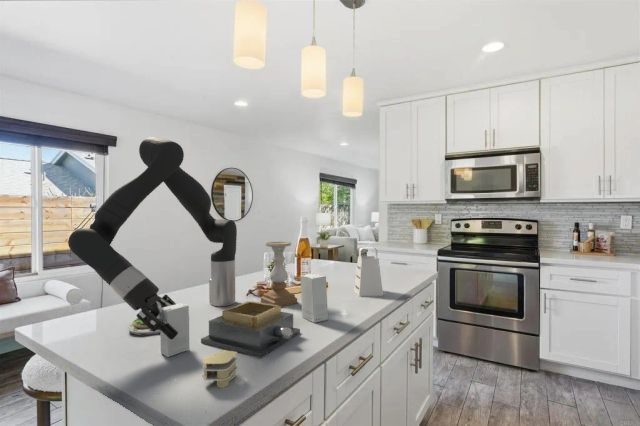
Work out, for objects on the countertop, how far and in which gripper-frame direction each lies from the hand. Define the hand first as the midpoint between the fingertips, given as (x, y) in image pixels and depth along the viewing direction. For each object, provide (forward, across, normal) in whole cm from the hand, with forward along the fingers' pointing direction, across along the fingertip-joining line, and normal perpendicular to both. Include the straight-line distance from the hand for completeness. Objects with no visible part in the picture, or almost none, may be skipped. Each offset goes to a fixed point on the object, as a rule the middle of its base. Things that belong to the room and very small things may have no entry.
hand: (180, 331), depth 89 cm
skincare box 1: (+3, 0, +5) cm, 6 cm away
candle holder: (+20, +45, -12) cm, 51 cm away
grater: (+47, +58, -39) cm, 84 cm away
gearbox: (+17, +8, -9) cm, 21 cm away
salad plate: (-6, +21, +15) cm, 27 cm away
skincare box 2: (+29, +24, -21) cm, 44 cm away
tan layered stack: (+14, -16, -6) cm, 22 cm away
